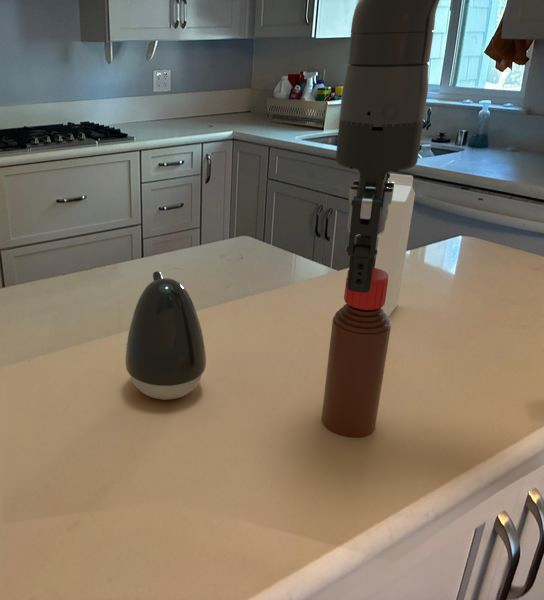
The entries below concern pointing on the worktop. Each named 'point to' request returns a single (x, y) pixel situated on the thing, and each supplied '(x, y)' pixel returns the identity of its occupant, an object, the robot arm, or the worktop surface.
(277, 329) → the worktop surface
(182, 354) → the dark grey egg-shaped piece
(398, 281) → the milk
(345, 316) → the bottle
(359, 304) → the cap
